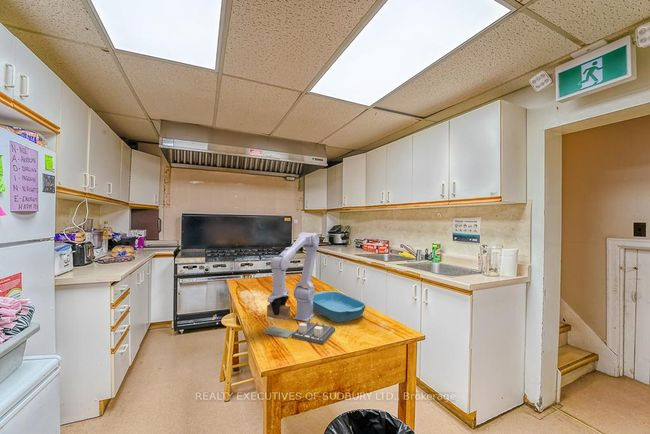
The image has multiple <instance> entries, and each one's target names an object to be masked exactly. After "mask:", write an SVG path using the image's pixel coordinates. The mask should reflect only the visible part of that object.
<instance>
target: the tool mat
mask: <svg viewBox="0 0 650 434" xmlns="http://www.w3.org/2000/svg"><path fill="white" fill-rule="evenodd" d="M294 331H295V330H292V329H286V328H282V327H277V326H272V325H270V326H269V327H267V328H266V329H264V330H262V332H261V333H262V334H266V335H271V336H275V337H278V338H282V339H289V338H291V334H292V333H293V332H294Z"/></svg>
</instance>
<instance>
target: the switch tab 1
mask: <svg viewBox="0 0 650 434" xmlns="http://www.w3.org/2000/svg"><path fill="white" fill-rule="evenodd" d="M305 323H306V322H300V323H299V324H298V327H297V329H298V333H304V332H306V331H307V324H305Z"/></svg>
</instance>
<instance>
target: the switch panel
mask: <svg viewBox="0 0 650 434" xmlns="http://www.w3.org/2000/svg"><path fill="white" fill-rule="evenodd" d="M304 323H305V324H307V331H306V332H304V333H298V328H297V329H296V330H293V331H294V332H293V333H292V334H291V336H290V338H292V339H293V338H294V339H297V340H301V341H306V342H310V343H314V344H320V345H324V344H325V343H326V342H327V341H328V339H330V338H331V336H332V335H333V334H334V333H335V332H336V327H334V324H331V325H329V326H328V325H325V323H321V324H319V322H318V321H316V322H315V323H313V322H311V320H310V319H309V320H308V321H305V322H304ZM316 326H319V327H323V334H322V335H321V336H320V337H316V336H314V328H315V327H316Z"/></svg>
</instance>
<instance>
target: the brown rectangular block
mask: <svg viewBox="0 0 650 434" xmlns="http://www.w3.org/2000/svg"><path fill="white" fill-rule="evenodd" d="M266 317H268V318H274V319H278V320H283V321H287V320H288V319H290V318H291V305H286V304H285V305H280V308H279V315H278V316H277V315H274V313H273V309H272V306H271V304H270V303H269V304H267V305H266Z"/></svg>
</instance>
